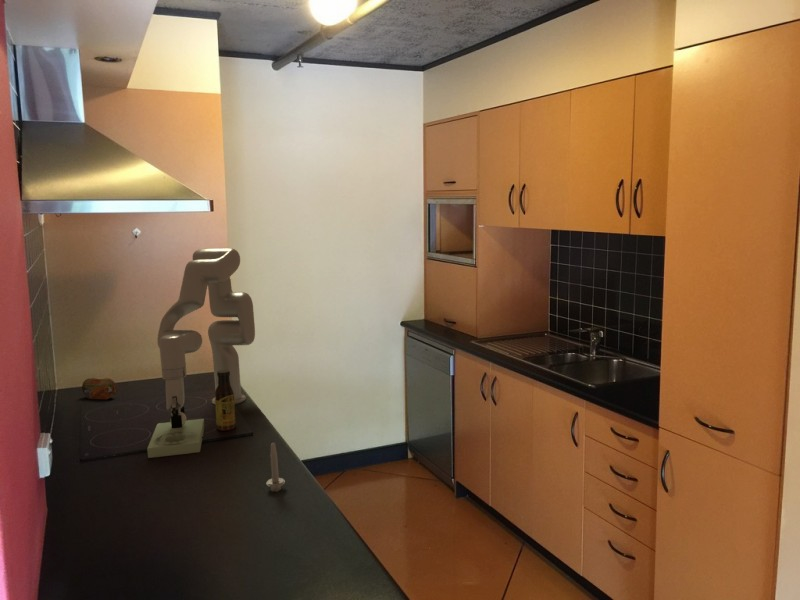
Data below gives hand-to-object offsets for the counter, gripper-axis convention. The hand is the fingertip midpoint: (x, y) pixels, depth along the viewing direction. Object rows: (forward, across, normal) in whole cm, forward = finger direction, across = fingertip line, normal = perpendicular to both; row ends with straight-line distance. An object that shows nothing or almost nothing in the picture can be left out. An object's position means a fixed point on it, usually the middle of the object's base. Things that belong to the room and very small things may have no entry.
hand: (178, 423), depth 215 cm
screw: (+5, +53, +29) cm, 61 cm away
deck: (+4, +6, 0) cm, 7 cm away
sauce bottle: (+4, -2, +15) cm, 16 cm away
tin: (+4, -58, -36) cm, 68 cm away
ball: (-1, 0, 0) cm, 1 cm away
